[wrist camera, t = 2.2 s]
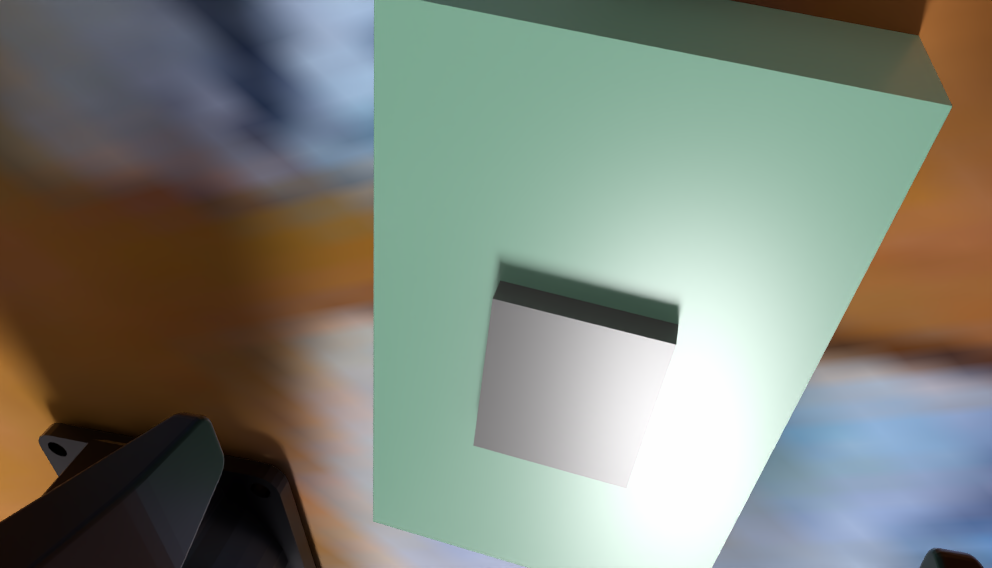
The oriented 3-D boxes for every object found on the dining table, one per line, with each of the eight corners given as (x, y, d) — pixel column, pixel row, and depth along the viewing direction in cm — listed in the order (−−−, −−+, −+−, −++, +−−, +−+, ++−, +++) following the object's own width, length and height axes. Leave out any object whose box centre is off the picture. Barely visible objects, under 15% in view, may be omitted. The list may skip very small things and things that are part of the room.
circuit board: (694, 506, 16) (685, 635, 14) (415, 428, 16) (365, 539, 14) (912, 23, 9) (960, 123, 7) (442, -64, 10) (359, 2, 8)
